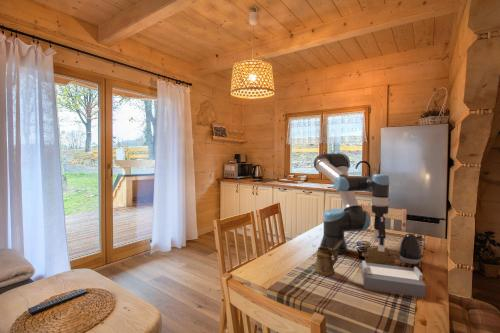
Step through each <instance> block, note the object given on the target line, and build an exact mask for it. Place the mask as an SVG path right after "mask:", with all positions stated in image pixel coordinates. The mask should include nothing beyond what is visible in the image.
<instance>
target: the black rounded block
mask: <svg viewBox="0 0 500 333" xmlns="http://www.w3.org/2000/svg"><path fill="white" fill-rule="evenodd" d="M422 238H423V236H422V235H417V236H416V235H415V234H414V233H410V232H409V233H406V234H404V235H403V237H402V239H401V241H400V244H399V247H398V248H399V249H398V255H399V258H400V260H401V261H403V263H405V264H409V265H417V264H418V263H420V261H421V259H422V256H423V255H422V249H421V245H420V242H419V239H422Z"/></svg>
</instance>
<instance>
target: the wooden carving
mask: <svg viewBox="0 0 500 333" xmlns="http://www.w3.org/2000/svg"><path fill="white" fill-rule="evenodd" d="M361 256H362V257H364V261H365V262H366V263H374V264H382V265H390V266H394V265H395V262H396V260H397V256H396V255H394V254H393V253H391V251H390V248H389V247H387V246H386V247H385V249H384V252H382V251H378V245H371V246H367V248H366V251H365V252H361Z"/></svg>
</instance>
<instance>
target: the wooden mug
mask: <svg viewBox="0 0 500 333" xmlns="http://www.w3.org/2000/svg"><path fill="white" fill-rule="evenodd" d="M342 242H343V240H340V241H339V242H338V243H336V244H335V245H334V247H333V248H332V249H330V248H328V247H320V246H319V247H318V248H317V251H316V260H315V265H314V269H313V271H314V273H316V274H317V275H319V276H324V277H326V276H331V275H333V274H334V273H335V268H334V265H335V264H336V263H337V262H338V260H339V256H338V255H339V254H337V251H336V249H337V248H338V247H339V246H340V244H341V243H342Z"/></svg>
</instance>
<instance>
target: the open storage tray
mask: <svg viewBox="0 0 500 333" xmlns="http://www.w3.org/2000/svg"><path fill="white" fill-rule="evenodd" d="M360 269H361V271H360V273H361V278H362V282H363V287H364V290H368V291H369V290H370V291H377V292H382V291H383V293H389V292H390V294H395V293H399V294H398V295H402V294H405V295H404V296H408V295H412V296H411V297H415V296H417V297H416V298H421V299H422V298H424V299H426V292H427V291H426V288H427V286H426V284H425V282H424V280H423V277H424V275H423V273H422V272H421V270H420V269H419V268H418V266H414V267H406V266H399V265H398V266H396V265H390V264H385V265H382V264H374V263H369V262H367V261H366V260H362V261H361V268H360Z"/></svg>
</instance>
